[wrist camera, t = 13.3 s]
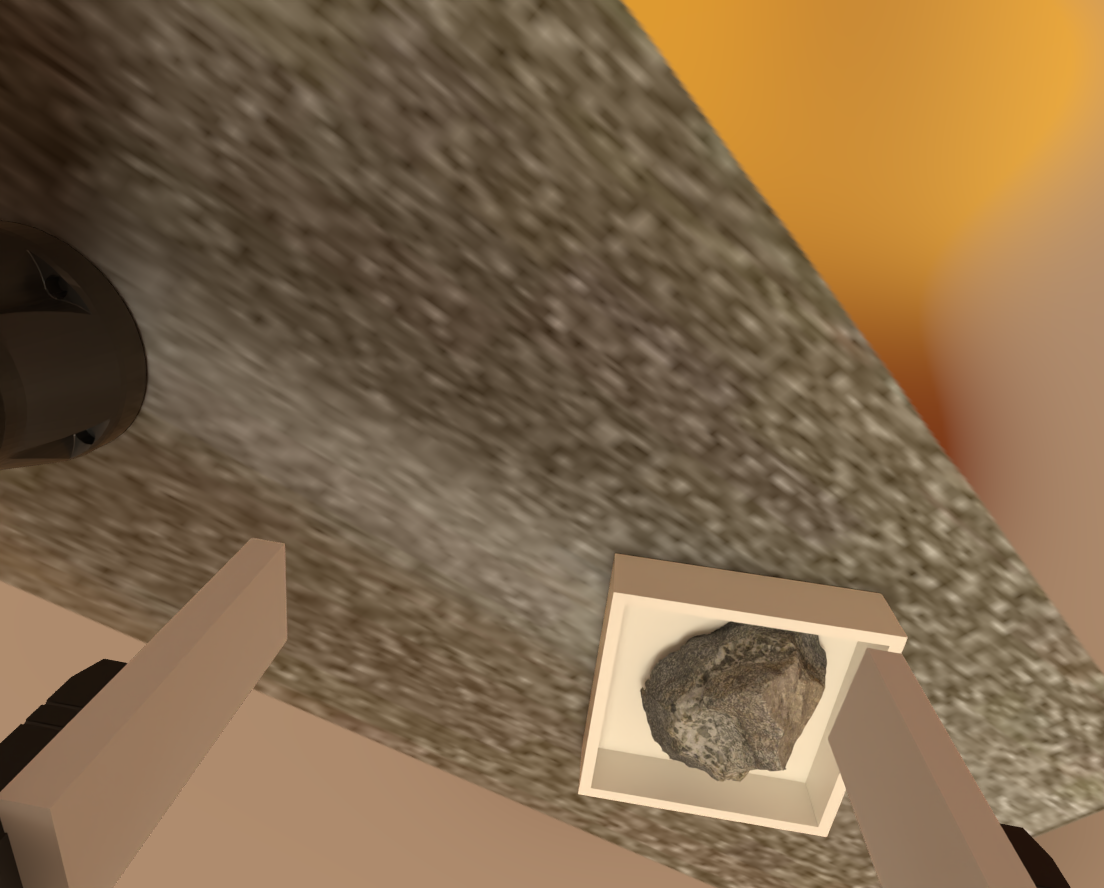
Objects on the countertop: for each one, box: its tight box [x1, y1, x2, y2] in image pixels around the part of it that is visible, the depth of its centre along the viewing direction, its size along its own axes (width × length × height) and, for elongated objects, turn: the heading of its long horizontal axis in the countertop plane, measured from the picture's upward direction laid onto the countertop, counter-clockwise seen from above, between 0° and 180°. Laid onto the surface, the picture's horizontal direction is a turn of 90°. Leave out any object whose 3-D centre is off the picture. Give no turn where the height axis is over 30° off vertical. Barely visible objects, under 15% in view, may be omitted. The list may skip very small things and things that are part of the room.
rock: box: [640, 621, 827, 782], centre depth 43 cm, size 13×9×6 cm, turn 147°
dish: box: [578, 553, 908, 837], centre depth 45 cm, size 18×18×4 cm
